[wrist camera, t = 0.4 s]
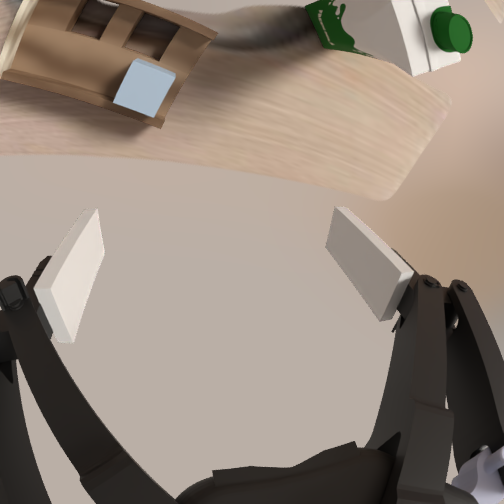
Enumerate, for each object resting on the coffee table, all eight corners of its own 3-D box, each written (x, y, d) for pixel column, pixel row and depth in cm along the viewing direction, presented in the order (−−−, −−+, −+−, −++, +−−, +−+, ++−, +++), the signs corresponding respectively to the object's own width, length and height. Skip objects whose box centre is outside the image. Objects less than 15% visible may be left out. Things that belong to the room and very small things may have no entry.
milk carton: (369, 38, 30) (480, 71, 16) (319, 56, 31) (424, 92, 17) (349, -12, 24) (464, -10, 10) (294, 2, 25) (399, -6, 11)
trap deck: (51, -18, 14) (35, -23, 10) (213, 33, 26) (219, 32, 23) (11, 71, 20) (-7, 78, 16) (161, 118, 33) (160, 130, 29)
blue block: (137, 58, 24) (133, 60, 22) (175, 73, 27) (175, 77, 24) (119, 95, 27) (112, 102, 24) (155, 109, 29) (153, 117, 27)
